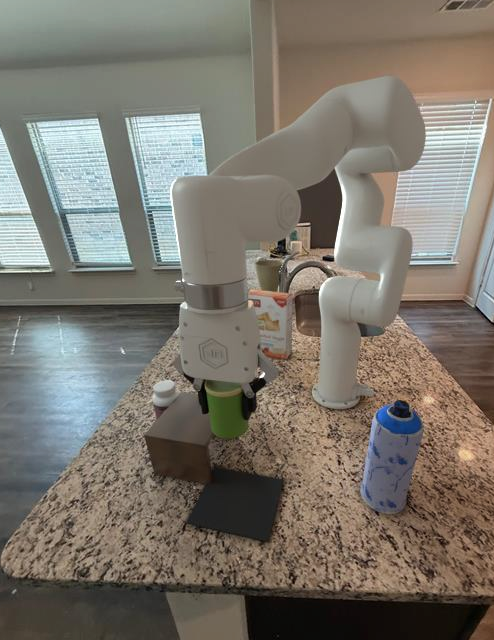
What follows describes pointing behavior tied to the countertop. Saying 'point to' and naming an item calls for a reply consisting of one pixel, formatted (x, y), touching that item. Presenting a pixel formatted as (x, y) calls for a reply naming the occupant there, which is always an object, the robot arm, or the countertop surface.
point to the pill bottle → (163, 396)
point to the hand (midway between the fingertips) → (228, 410)
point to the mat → (238, 504)
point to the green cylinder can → (226, 408)
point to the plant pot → (268, 274)
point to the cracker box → (274, 321)
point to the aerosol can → (391, 457)
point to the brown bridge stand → (181, 441)
